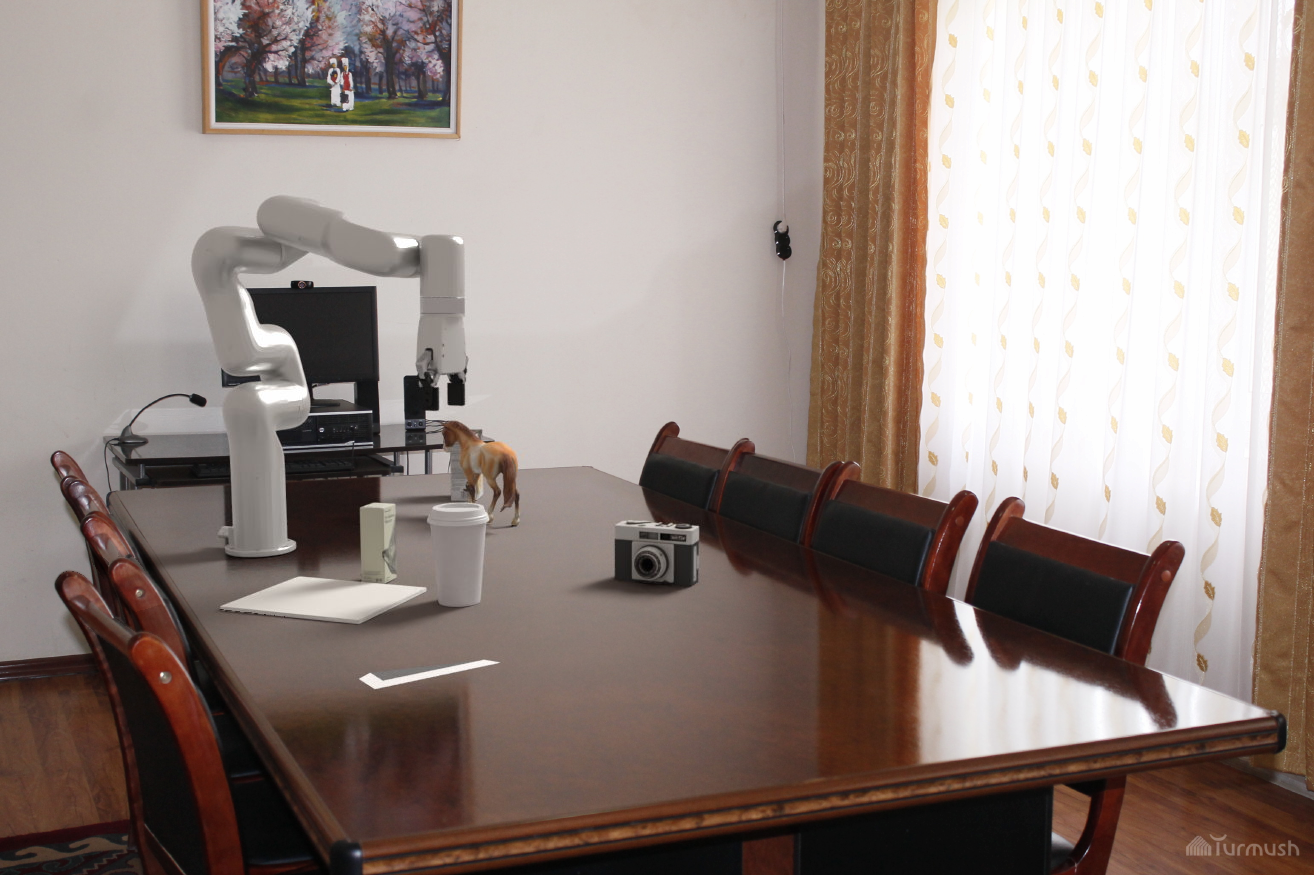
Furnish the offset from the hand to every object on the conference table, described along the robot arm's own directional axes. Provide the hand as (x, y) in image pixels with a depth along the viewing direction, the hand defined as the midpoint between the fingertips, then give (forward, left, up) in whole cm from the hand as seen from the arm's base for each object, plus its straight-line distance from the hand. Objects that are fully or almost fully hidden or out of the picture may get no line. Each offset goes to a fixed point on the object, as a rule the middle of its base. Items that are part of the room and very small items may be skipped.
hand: (443, 408), depth 198 cm
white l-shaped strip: (+22, -40, -29) cm, 54 cm away
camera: (+37, +2, -29) cm, 47 cm away
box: (-7, -11, -29) cm, 31 cm away
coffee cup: (+12, -19, -29) cm, 36 cm away
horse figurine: (-15, +41, -29) cm, 52 cm away
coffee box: (-30, +67, -29) cm, 79 cm away
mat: (-8, -25, -28) cm, 38 cm away
